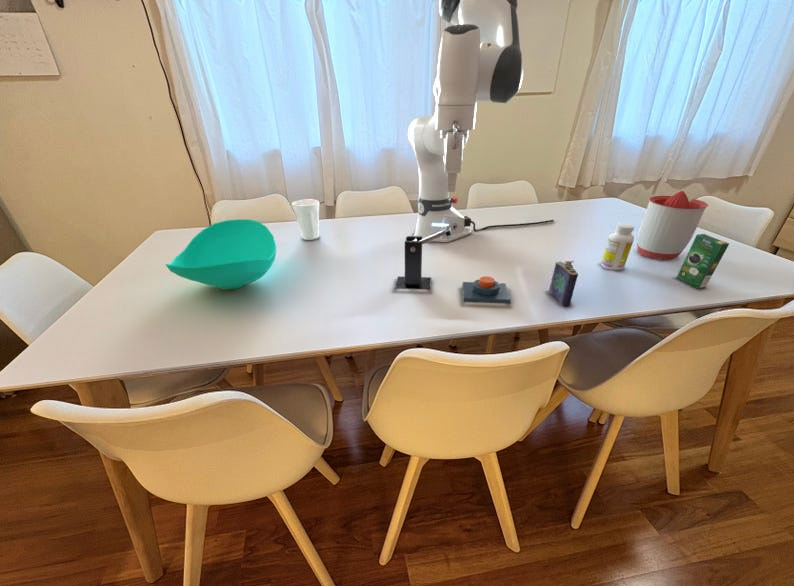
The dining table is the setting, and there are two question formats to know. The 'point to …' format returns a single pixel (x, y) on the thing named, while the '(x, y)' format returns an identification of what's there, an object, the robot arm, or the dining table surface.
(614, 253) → the supplement bottle
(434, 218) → the robot arm
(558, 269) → the flask
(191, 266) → the table top decor
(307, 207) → the cup
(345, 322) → the dining table surface
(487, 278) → the button
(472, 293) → the button box
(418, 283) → the bracket
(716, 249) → the coffee box
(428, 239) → the lever
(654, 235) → the citrus juicer
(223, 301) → the dining table surface
